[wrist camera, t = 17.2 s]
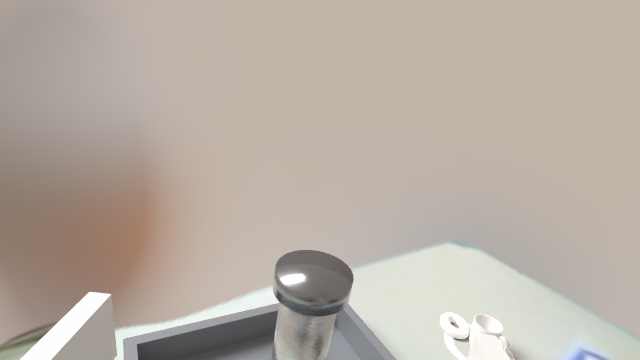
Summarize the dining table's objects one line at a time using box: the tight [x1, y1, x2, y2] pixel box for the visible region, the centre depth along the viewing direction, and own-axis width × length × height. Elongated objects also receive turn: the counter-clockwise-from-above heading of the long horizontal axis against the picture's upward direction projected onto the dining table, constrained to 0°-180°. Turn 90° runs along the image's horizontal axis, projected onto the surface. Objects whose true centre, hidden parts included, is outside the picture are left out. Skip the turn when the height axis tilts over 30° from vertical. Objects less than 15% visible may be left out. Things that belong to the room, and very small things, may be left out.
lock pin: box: [271, 250, 353, 360], centre depth 26 cm, size 5×5×15 cm
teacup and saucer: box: [440, 312, 515, 360], centre depth 41 cm, size 9×8×4 cm
